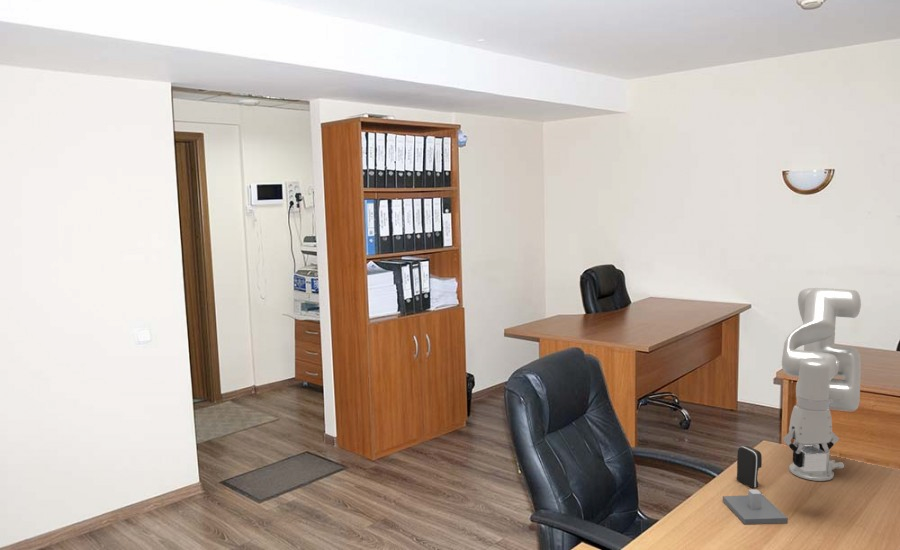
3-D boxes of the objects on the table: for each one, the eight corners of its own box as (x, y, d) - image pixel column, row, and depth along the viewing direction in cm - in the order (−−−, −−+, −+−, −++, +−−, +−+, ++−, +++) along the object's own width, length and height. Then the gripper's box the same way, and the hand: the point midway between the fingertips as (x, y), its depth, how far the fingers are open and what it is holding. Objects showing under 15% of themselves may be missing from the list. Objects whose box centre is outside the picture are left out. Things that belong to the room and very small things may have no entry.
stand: (762, 499, 202) (763, 480, 201) (787, 523, 188) (788, 502, 187) (722, 500, 202) (723, 481, 201) (744, 524, 188) (745, 503, 187)
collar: (813, 461, 195) (814, 444, 194) (825, 470, 189) (826, 453, 188) (792, 462, 195) (793, 445, 194) (804, 471, 189) (805, 454, 188)
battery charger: (762, 486, 210) (764, 451, 209) (753, 489, 209) (754, 453, 207) (744, 478, 217) (746, 443, 215) (735, 480, 215) (737, 445, 214)
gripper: (835, 397, 193) (831, 458, 196) (775, 399, 192) (772, 460, 195) (851, 406, 185) (847, 469, 188) (788, 408, 185) (785, 472, 188)
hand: (809, 464), depth 192 cm, fingers closed on collar, 5 cm apart
